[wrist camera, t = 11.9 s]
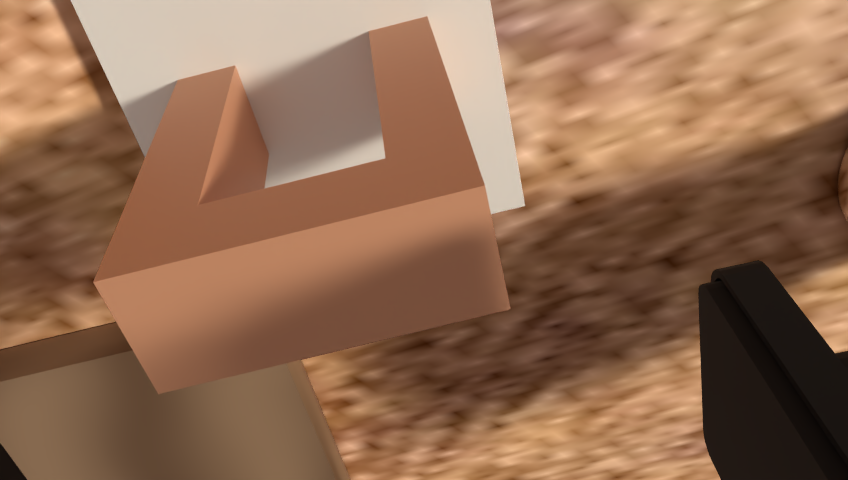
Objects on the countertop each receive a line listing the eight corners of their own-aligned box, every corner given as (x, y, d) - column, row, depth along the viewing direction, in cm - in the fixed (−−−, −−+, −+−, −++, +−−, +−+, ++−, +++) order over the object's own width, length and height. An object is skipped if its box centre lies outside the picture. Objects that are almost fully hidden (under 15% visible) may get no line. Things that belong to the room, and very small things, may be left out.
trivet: (459, -159, 17) (463, -155, 16) (520, 194, 22) (525, 205, 21) (56, -55, 17) (47, -49, 17) (207, 270, 22) (204, 283, 22)
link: (427, 15, 18) (484, 185, 12) (448, 109, 20) (511, 309, 13) (177, 79, 18) (92, 282, 12) (215, 167, 20) (158, 393, 13)
